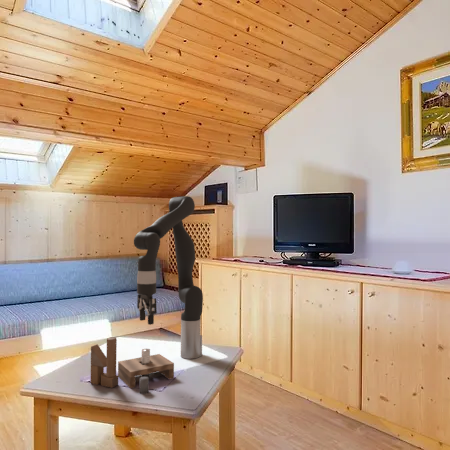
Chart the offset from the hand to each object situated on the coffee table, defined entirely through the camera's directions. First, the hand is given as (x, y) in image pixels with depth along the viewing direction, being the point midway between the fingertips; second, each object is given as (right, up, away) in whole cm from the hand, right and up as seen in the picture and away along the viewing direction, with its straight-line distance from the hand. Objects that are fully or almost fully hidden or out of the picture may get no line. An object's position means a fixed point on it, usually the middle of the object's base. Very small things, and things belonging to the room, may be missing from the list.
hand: (146, 322), depth 156 cm
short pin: (+2, -22, -15) cm, 26 cm away
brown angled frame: (-15, -22, -8) cm, 28 cm away
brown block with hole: (0, -22, 0) cm, 22 cm away
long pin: (0, -22, 0) cm, 22 cm away
